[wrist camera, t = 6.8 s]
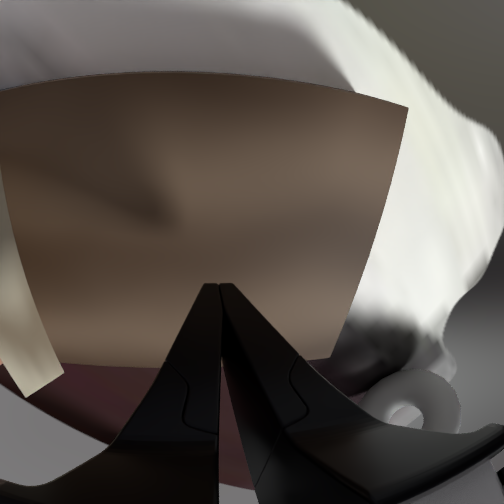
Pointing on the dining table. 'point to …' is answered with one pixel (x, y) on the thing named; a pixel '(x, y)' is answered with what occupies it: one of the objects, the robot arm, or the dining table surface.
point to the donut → (415, 399)
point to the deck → (192, 203)
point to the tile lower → (21, 318)
